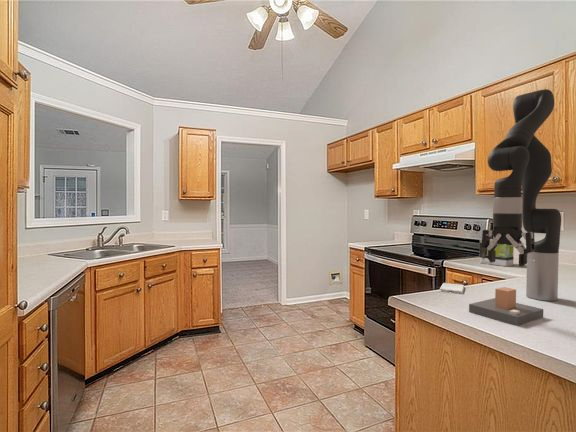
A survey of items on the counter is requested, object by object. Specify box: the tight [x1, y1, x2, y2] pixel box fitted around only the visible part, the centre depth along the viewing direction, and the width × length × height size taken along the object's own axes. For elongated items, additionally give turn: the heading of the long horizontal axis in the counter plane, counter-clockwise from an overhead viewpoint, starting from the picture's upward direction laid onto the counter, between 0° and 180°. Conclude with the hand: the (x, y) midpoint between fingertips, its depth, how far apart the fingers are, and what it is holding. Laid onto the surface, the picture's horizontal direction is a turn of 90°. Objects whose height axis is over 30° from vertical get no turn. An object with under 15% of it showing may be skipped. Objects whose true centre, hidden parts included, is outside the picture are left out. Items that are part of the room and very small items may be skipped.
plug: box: [494, 286, 517, 309], centre depth 101 cm, size 5×4×8 cm
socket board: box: [468, 297, 544, 327], centre depth 101 cm, size 15×14×3 cm
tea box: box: [479, 238, 515, 267], centre depth 195 cm, size 15×10×15 cm, turn 34°
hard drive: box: [439, 282, 465, 295], centre depth 133 cm, size 2×8×12 cm
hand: (506, 264), depth 101 cm, fingers open, 8 cm apart
